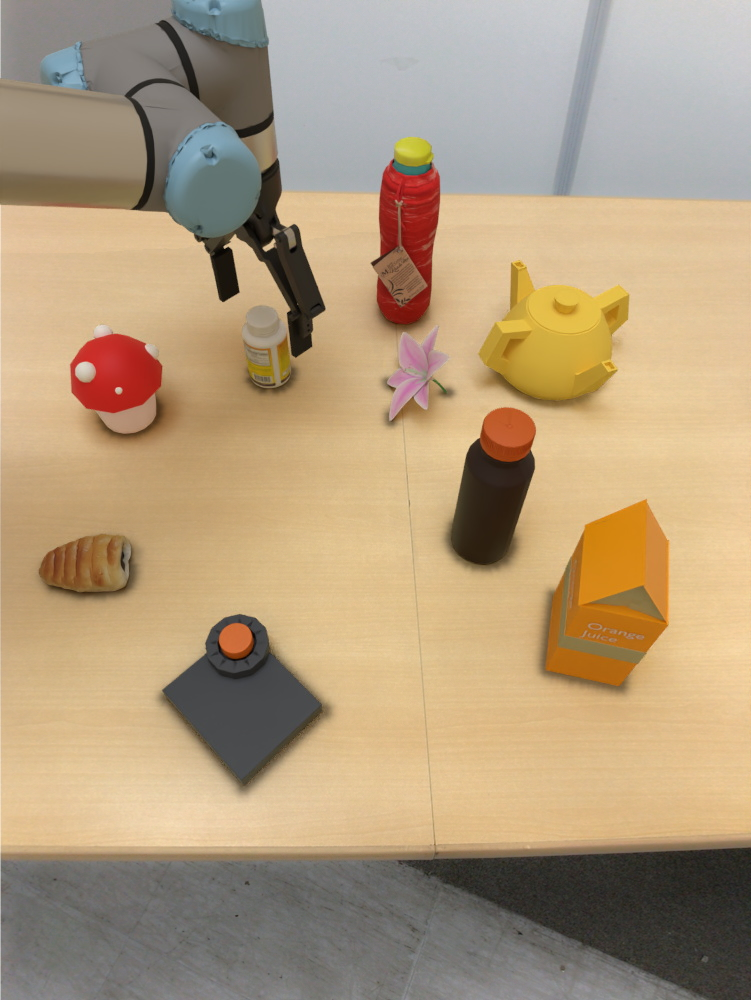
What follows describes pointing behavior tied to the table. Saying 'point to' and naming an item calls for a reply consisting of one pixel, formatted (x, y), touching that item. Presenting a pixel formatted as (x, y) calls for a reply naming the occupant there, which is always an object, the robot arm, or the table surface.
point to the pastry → (88, 564)
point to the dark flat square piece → (242, 701)
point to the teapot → (555, 338)
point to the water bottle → (407, 231)
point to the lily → (415, 371)
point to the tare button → (236, 641)
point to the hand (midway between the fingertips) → (264, 322)
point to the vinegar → (494, 486)
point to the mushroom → (117, 379)
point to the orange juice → (611, 597)
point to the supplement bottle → (266, 347)
